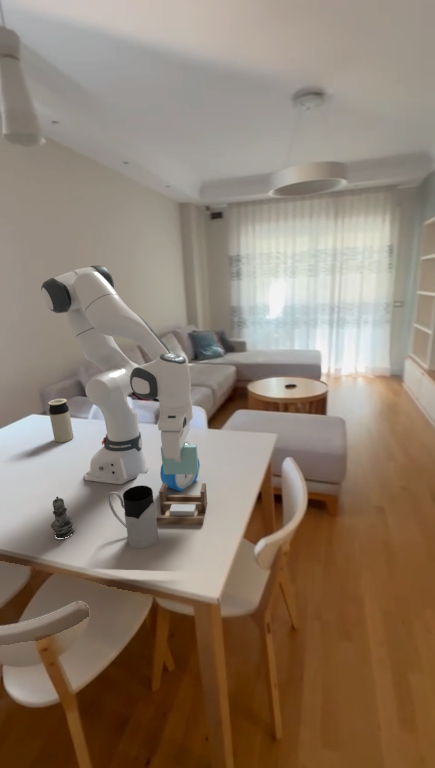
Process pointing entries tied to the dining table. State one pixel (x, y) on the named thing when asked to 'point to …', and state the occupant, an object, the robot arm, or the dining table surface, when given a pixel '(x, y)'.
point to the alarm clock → (178, 479)
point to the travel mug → (60, 420)
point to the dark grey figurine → (61, 520)
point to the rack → (182, 499)
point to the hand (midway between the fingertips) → (179, 458)
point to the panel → (182, 461)
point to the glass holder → (138, 515)
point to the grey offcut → (182, 510)
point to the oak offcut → (169, 512)
